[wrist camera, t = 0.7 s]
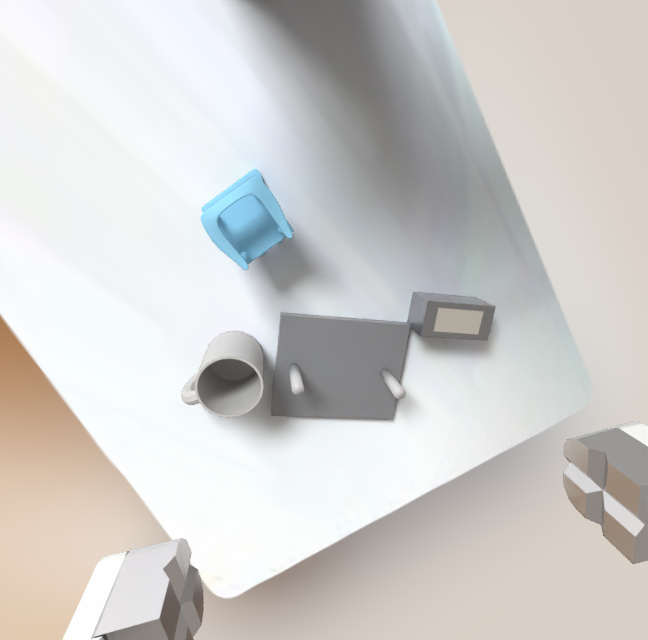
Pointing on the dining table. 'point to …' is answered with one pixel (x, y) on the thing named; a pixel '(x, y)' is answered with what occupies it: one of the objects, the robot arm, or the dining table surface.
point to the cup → (228, 376)
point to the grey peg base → (338, 367)
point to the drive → (450, 316)
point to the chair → (245, 220)
